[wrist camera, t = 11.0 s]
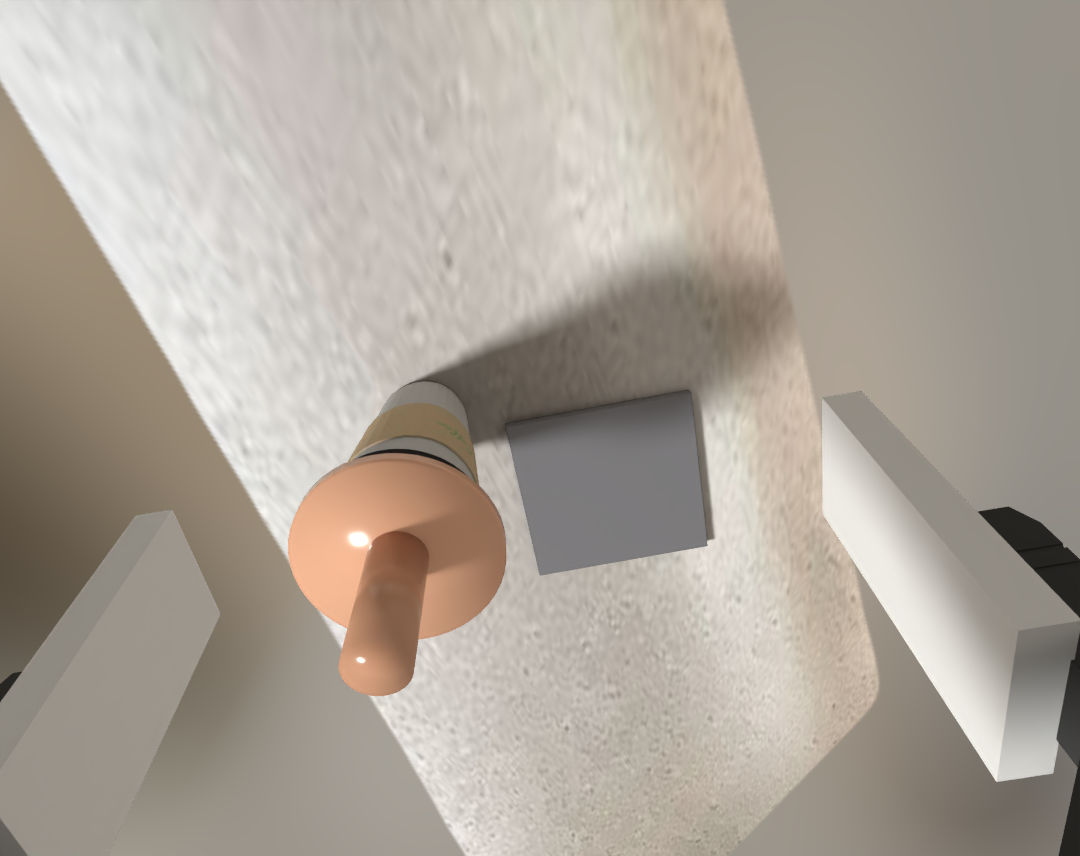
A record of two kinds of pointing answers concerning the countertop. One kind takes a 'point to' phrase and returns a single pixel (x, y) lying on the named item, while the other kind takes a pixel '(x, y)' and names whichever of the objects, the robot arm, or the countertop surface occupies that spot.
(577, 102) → the countertop surface
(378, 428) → the coffee cup
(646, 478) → the mat
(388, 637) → the lid
